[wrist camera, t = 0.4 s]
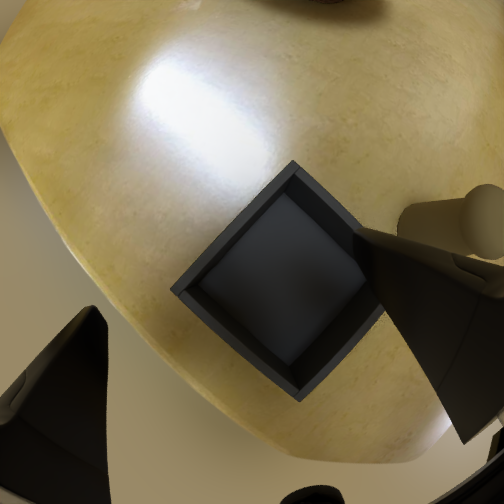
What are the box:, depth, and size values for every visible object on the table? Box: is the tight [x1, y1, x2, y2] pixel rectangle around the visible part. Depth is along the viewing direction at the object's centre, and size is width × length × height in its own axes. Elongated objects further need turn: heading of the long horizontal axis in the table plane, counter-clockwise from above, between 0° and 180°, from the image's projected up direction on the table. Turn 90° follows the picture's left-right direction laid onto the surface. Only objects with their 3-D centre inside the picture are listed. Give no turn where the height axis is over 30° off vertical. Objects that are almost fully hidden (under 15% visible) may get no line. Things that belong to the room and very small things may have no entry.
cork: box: [398, 184, 504, 260], centre depth 18 cm, size 6×6×11 cm
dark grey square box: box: [170, 160, 385, 402], centre depth 20 cm, size 11×11×6 cm
